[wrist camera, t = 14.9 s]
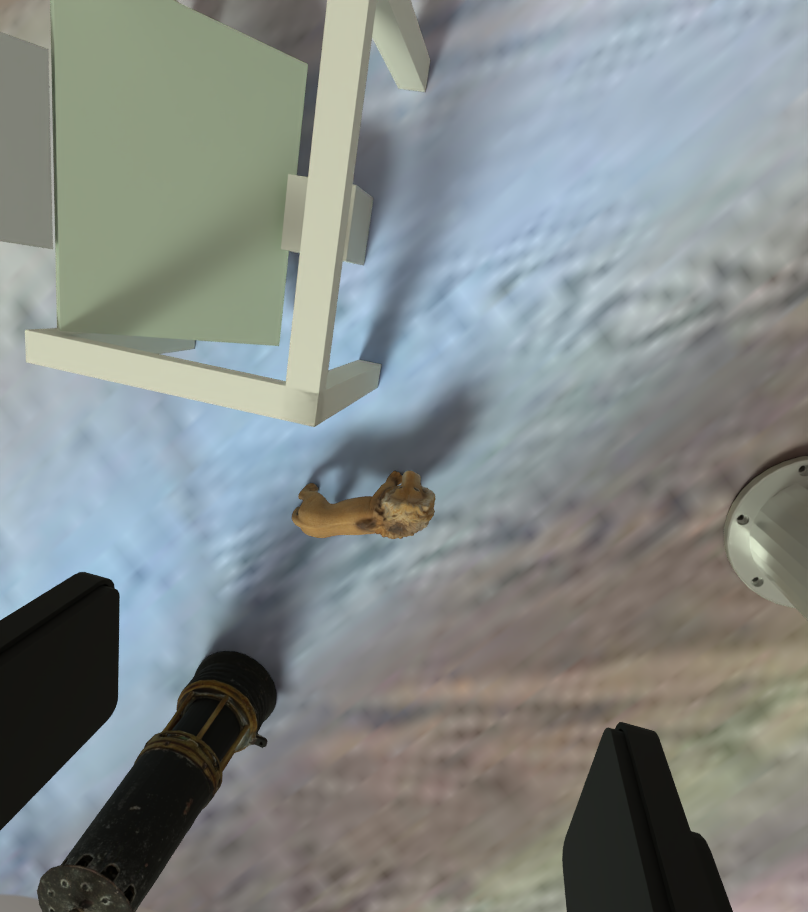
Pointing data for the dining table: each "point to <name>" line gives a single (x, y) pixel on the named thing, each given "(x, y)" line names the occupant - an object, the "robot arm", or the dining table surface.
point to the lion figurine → (369, 510)
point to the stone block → (355, 225)
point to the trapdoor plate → (153, 169)
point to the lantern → (164, 790)
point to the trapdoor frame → (321, 253)
